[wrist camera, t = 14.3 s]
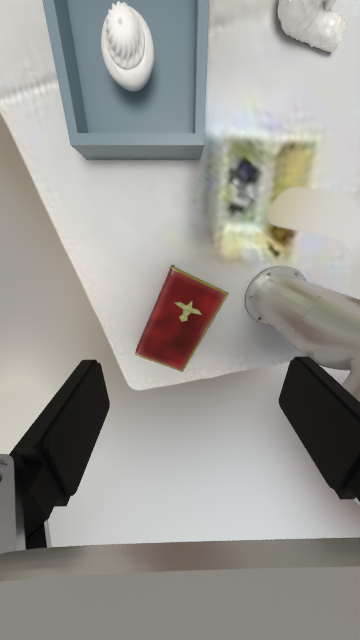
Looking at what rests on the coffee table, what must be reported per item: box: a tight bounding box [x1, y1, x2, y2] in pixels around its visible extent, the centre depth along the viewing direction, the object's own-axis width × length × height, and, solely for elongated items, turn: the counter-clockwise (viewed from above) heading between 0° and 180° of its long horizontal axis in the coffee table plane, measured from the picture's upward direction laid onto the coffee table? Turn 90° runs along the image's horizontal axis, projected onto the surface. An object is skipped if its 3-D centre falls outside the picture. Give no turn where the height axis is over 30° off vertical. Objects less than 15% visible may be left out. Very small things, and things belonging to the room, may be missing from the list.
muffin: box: [101, 1, 154, 92], centre depth 21 cm, size 6×6×7 cm
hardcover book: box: [135, 265, 229, 372], centre depth 39 cm, size 12×21×4 cm, turn 155°
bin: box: [43, 0, 209, 160], centre depth 23 cm, size 18×18×5 cm
